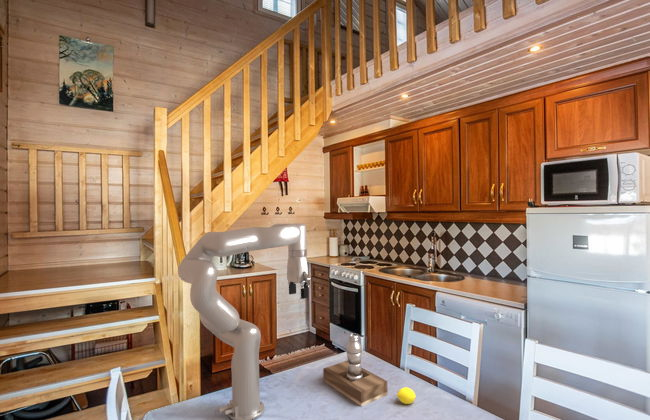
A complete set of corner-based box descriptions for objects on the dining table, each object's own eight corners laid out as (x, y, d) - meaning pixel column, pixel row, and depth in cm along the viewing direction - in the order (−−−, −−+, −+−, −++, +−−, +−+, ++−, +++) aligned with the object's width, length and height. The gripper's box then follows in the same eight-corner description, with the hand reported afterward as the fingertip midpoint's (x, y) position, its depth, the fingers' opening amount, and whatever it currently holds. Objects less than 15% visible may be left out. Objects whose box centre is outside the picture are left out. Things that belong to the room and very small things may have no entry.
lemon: (412, 399, 131) (414, 385, 131) (417, 407, 126) (418, 392, 126) (394, 398, 131) (395, 383, 131) (397, 406, 125) (399, 391, 125)
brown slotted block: (361, 406, 127) (361, 391, 127) (323, 380, 146) (323, 368, 146) (387, 394, 134) (387, 381, 134) (348, 372, 154) (348, 360, 154)
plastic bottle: (363, 381, 142) (361, 331, 143) (363, 390, 136) (361, 338, 136) (347, 381, 143) (345, 331, 143) (346, 389, 136) (345, 337, 136)
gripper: (279, 252, 149) (280, 293, 149) (300, 256, 134) (301, 301, 134) (295, 251, 153) (296, 291, 153) (316, 254, 139) (317, 298, 138)
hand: (298, 296), depth 144 cm, fingers open, 9 cm apart
